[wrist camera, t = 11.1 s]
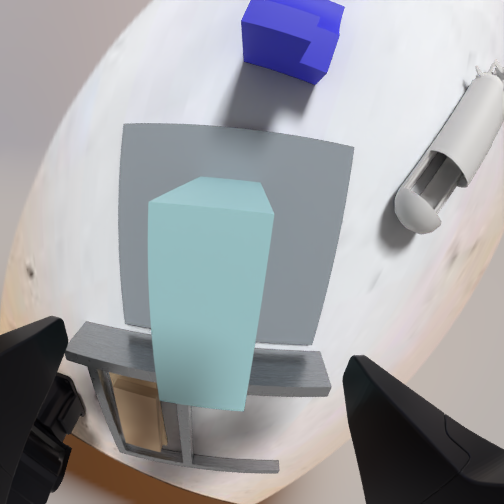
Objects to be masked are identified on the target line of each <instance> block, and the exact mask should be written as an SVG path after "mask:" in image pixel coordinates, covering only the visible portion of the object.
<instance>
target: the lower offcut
mask: <svg viewBox="0 0 504 504" xmlns="http://www.w3.org/2000/svg"><path fill="white" fill-rule="evenodd" d="M109 374H110V378H111V382H112V385H114V384H115V382H116V380H117V378H119V379H122V380H126V381H129V382H133V383H136V384H140V385H144V386H147V387H151V388H155V389H158V387H157V383H155V382H150V381H145V380H140V379H136V378H131V377H127V376H123V375H118V374H114V373H110V372H109ZM160 416H161V430H162V443H163V445H167V443H168V441H167V436H166V431H165V426H164V420H163V414H162V408H161V402H160Z"/></svg>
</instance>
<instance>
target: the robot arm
mask: <svg viewBox="0 0 504 504" xmlns="http://www.w3.org/2000/svg"><path fill="white" fill-rule="evenodd" d="M67 346H68V337H67V333H66V329H65V325H64V321H63V320H62V319H61V318H59V317H55V316H49V317H47V318H44V319H41V320H39V321H36V322H34V323H31V324H28V325H26V326H23V327H20V328H18V329H15V330H12V331H10V332H7V333H5V334H2V335H0V504H45V503H46V502H47V500H48V497H49V494H50V492H52V493H53V492H55V491H56V490H57V489H58V487H59V486H60V484H61V482H62V480H63V477H64V474H65V470H66V467H67V463H68V459H69V456H70V453H71V449H72V448H71V447H69V446H68V445H65V444H64V443H63V440H64V438H65V436H66V434H68V435H69V434H71V432H72V430H73V428H74V426H75V424H76V422H77V420H78V418H79V416H82V417H84V415H85V412H84V409H83V407H82V405H81V402H80V400H79V398H78V395H77V393H76V390H75V388H74V385H73V382H72V380H71V379H70V378H69V377H68V376H65V375H62V374H60V373H57V371H58V368H59V366H60V363H61V361H62V358H63V356H64V353H65V351H66V348H67ZM343 388H344V395H345V403H346V411H347V418H348V424H349V429H350V433H351V437H352V441H353V445H354V449H355V454H356V458H357V463H358V467H359V471H360V476H361V481H362V485H363V490H364V495H365V500H366V504H504V449H502V448H500V447H498V446H497V445H495V444H493V443H491V442H489V441H487V440H486V439H484V438H482V437H480V436H479V435H477V434H475V433H473V432H472V431H470V430H468V429H467V428H465V427H464V426H462V425H461V424H459V423H458V422H456V421H455V420H453V419H452V418H451V417H449V416H448V415H446V414H445V415H444V413H443V412H442V411H441V410H439V409H437V408H436V407H435V406H434V405H432V404H431V403H429V402H428V401H426V400H425V399H424V398H423V397H421V396H420V395H418V394H417V393H415V392H414V391H413V390H411V389H410V388H409V387H407V386H406V385H405V384H403V383H402V382H400V381H399V380H398V379H396V378H395V377H394V376H392V375H391V374H389V373H388V372H387V371H385V370H384V369H383V368H381V367H380V366H379V365H377V364H376V363H375V362H373V361H372V360H370V359H369V358H368V357H366V356H364V355H354V356H352V357H351V358H350V360H349V363H348V365H347V367H346V370H345V372H344V375H343Z"/></svg>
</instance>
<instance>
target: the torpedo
mask: <svg viewBox="0 0 504 504" xmlns="http://www.w3.org/2000/svg"><path fill="white" fill-rule="evenodd" d="M494 66H496V67H497V68H495V71H494V73H492V70H493V68H494ZM503 68H504V67H502V66H501V65H500V63H499V62H498V60H497V59H496V60H495V62H494V63H493V64H492V65H491V67H490V69H489V71H488V72H487V73H486V72H484V73H482V72H481V70H480V69H479V67H478V66H476V71H477V73H478V75H477V76H476V78H475V79H474V80H473V81H472V82H471V84H470V86H469V87H468V89H467V91H466V92H465V94H464V96H463V97H462V99H461V100H460V102H459V104H458V105H457V107H456V108H455V110H454V112H453V113H452V115H451V116H450V118H449V119H448V121H447V122H446V124H445V125H444V127H443V128H442V130H441V131H440V133H439V134H438V136H437V137H436V139H435V140H434V141H433V143H432V144H431V146H430V147H429V149H428V150H427V151H426V153H425V154H424V156H423V157H422V158H421V160H420V161H419V163H418V164H417V165H416V167H415V168H414V169H413V171H412V172H411V174H410V175H409V176H408V178H407V179H406V180H405V182H404V183H403V184H402V186H401V187H400V188H399V190H398V192H397V195H396V197H395V213H396V215H397V217H398V219H399V221H400V222H401V223H402V224H403V225H404V227H405V228H407V229H409V230H410V231H413V232H416V233H418V234H426V233H431V232H433V231H434V230H435V229H436V228H438V227H439V226H440V225H441V220H440V218H439V216H438V215H437V214H438V212H439V211H440V209H441V208H442V207H443V205H444V204H445V202H446V201H447V199H448V198H449V197H450V195H451V194H452V192H453V191H454V189H455V188H456V186H458V187H467V186H468V185H469V183H470V182H471V180H472V178H473V177H474V175H475V174H476V172H477V170H478V169H479V167H480V165H481V163H482V162H483V160H484V158H485V156H486V155H487V153H488V151H489V149H490V147H491V146H492V143H493V141H494V139H495V137H496V135H497V133H498V131H499V129H500V127H501V125H502V123H503V121H504V69H503ZM495 75H497V76H495ZM437 152H440V153H443V154H445V155H446V157H447V158H446V159H445V161H444V162H443V164H442V165H441V167H440V168H439V169H438V171H437V172H436V174H435V175H434V177H433V178H432V179H431V181H430V182H429V184H428V185H427V186H426V188H425V189H424V191H423V192H422V193H421V195H420V196H419V195H418V194H417V193H415V192H413V191H411V189H412V187H413V186H414V185H415V183H416V182H417V181H418V179H419V178H420V177H421V175H422V174H423V172H424V171H425V170H426V168H427V167H428V165H429V164H430V163H431V161H432V160H433V158H434V157H435V155H436V154H437Z"/></svg>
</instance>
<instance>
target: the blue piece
mask: <svg viewBox="0 0 504 504" xmlns="http://www.w3.org/2000/svg"><path fill="white" fill-rule="evenodd" d="M344 8H345V7H344V6H341V5H339V4H336V3H334V2H331V1H329V0H251V1H250V3H249V5H248V7H247V9H246V12H245V14H244V16H243V18H242V20H241V27H242V41H243V56H244V62H247V63H251V64H254V65H258V66H261V67H265V68H268V69H271V70H274V71H277V72H280V73H283V74H286V75H289V76H292V77H295V78H298V79H300V80H303V81H306V82H308V83H311V84H314V85H316V84H317V83H318V82H319V81H320V80H321V79H322V78H323V77H324V76H325V75H326V74H327V71H328V68H329V65H330V63H331V60H332V57H333V54H334V51H335V48H336V45H337V42H338V39H339V28H340V22H341V18H342V14H343V11H344Z"/></svg>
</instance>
